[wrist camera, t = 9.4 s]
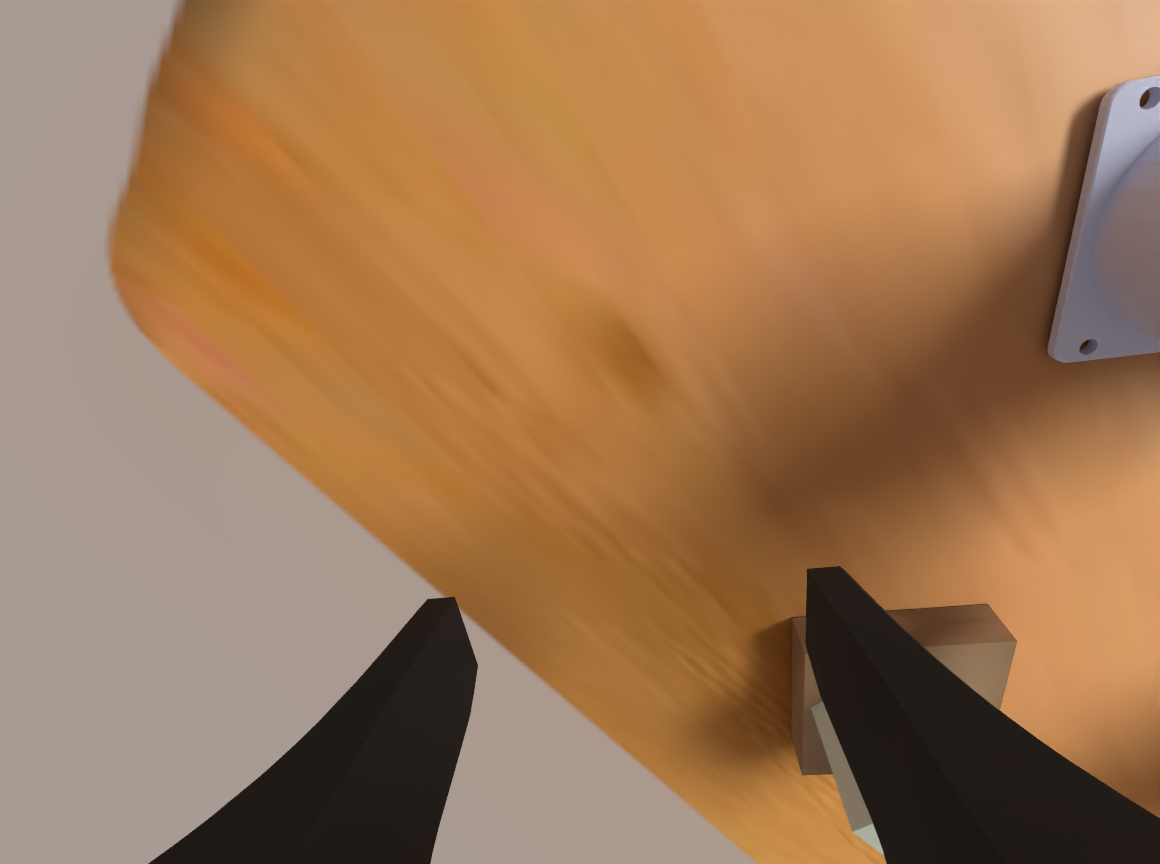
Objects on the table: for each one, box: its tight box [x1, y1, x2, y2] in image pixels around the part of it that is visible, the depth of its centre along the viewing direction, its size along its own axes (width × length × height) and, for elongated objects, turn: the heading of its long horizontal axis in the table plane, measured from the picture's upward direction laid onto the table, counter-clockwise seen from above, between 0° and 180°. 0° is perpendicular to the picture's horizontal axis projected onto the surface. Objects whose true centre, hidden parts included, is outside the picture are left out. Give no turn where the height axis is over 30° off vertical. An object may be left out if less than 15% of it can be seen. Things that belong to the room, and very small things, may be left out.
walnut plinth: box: [791, 604, 1017, 775], centre depth 26 cm, size 8×8×2 cm
